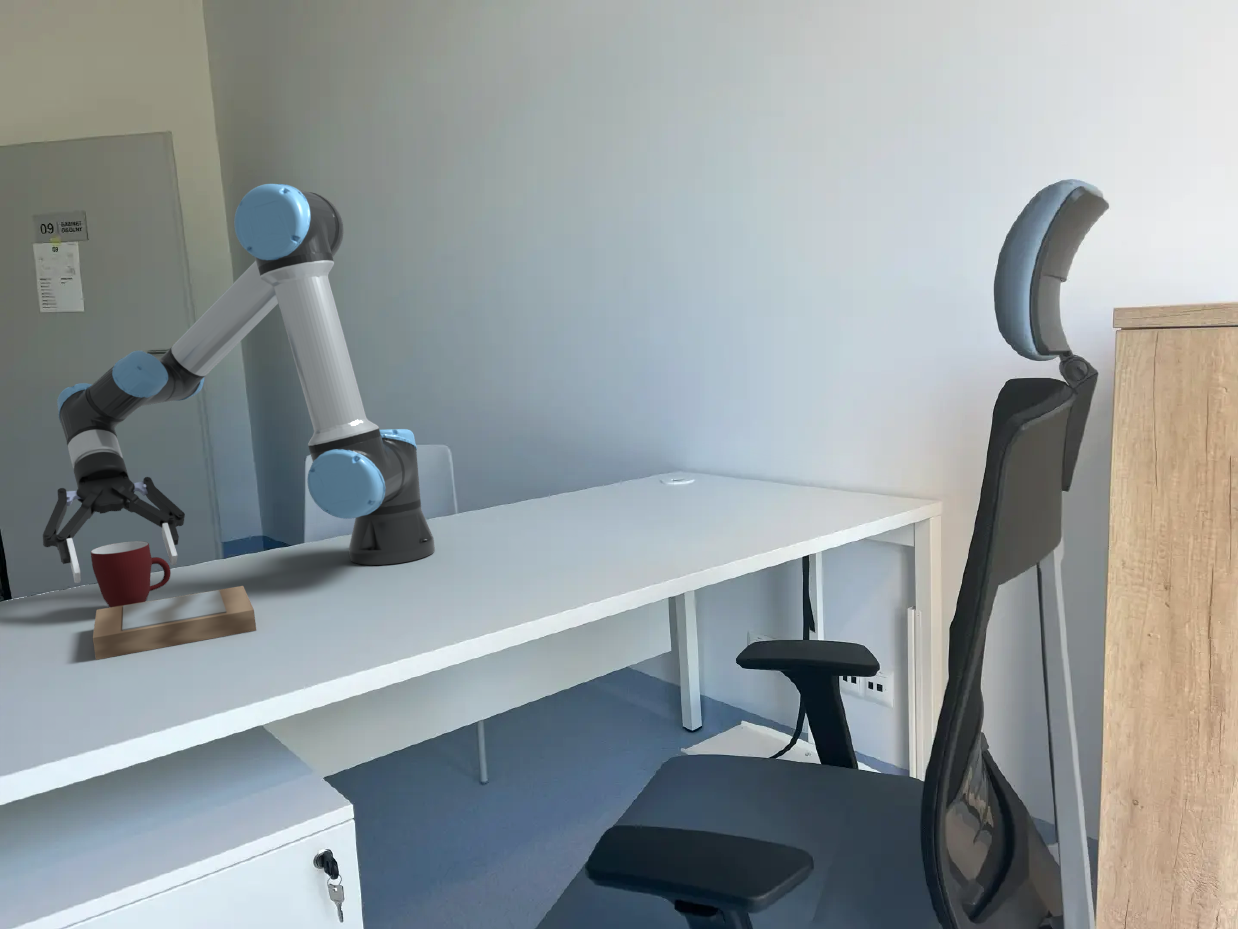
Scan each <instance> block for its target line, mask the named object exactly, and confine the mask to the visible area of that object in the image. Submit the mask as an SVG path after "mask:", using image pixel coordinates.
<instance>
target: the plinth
mask: <svg viewBox="0 0 1238 929" xmlns="http://www.w3.org/2000/svg"><path fill="white" fill-rule="evenodd" d="M255 616H256V615H255V610H254V607H253V605H252V602H251V600H250V598H249V596H248V594H247V591H246V589H245V587H244V585H241V586H234V587H227V588H221V589H215V590H209V591H202V592H198V593H197V592H196V593H193V594H192V593H190V594H186V595H184V594H183V595H178V596H173V597H172V596H171V597H166V598H160V599H154V600H148V601H147V600H146V602H141V603H135V604H129V605H123V606H117V607H105V608H99V609H96V612H95V617H94V618H95V620H94V628H93V634H92V641H93V642H92V643H93V649H94V650H93V651H94V656H95V657H94V658H95V661H97V660H103V659H107V658H108V659H109V658H112V657H113V658H114V657H118V656H123V655H130V654H136V653H141V652H145V651H146V652H147V651H152V650H156V649H157V650H159V649H162V648H167V647H168V648H169V647H174V646H178V645H183V644H190V643H195V642H201V641H205V640H211V639H216V638H222V637H223V638H224V637H226V636H227V637H228V636H233V635H238V634H242V633H243V634H245V633H249V632H250V633H251V632H254V631H255V632H256V631H257V624H256V617H255Z"/></svg>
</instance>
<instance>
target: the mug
mask: <svg viewBox="0 0 1238 929" xmlns="http://www.w3.org/2000/svg"><path fill="white" fill-rule="evenodd" d="M90 558H91V565H92V570H93V573H94V576H95V579H96V581H97V582H96V583H97V584H98V588H99V592H101V596H102V598H103V600H104V602H105V603H106V604H107V606H108V608H110V607H117V606H123V605H129V604H135V603H141V602H147V599H148V596H149V594H150V592H152V591H155V590H157V589H161V588H163V587H164V586H165V585H166V584H167V583H168V582H169V581H170V579H171V574H172V572H171V568H170V565H169V563H168V562H167V561H166V560H165V559H164V558H161V557H156V556H155V557H154V556H153V557H152V555H151V548H150V543H149V542H147V541H140V540H137V541H136V540H135V541H125V542H118V543H117V542H116V543H110V544H106V545H102V546H99V547H95V548H94V549H91V551H90ZM152 565H158V566H160V567H161V568H162V569H163V577H162V579H161V580H160V581H159V582H158V583H156V584H152V585H151V576H152V575H151V574H152Z"/></svg>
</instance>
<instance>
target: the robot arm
mask: <svg viewBox="0 0 1238 929" xmlns="http://www.w3.org/2000/svg"><path fill="white" fill-rule="evenodd" d="M233 221H234V231H235V236H236V238H237V240H238V242H239V244H240V245H241V246H242V248H243V249H244V250H245V251H246V252H247V253H248V254H250V255H251V256H252V257H254V262H253V263H252V264H251V265H250V266H249V267H248V268H247V269H246V270H245V271H244V272H243V273H242V274H241V275H240V276H239V277H238V278H236V280H235V281H234V282H233V283H232V284H231V285H230V286H229V288H227V289H226V290H225V291H224V292H223V294H222V295H220V296H219V297H218V299H217V300H216V301H214V303H212V305H211V306H210V307H208V309H207V310H206V311H205V312H204V313H203V314H202V315H201V316H200V317H199V318H198V319H197V320H196V321H195V322H194V323H193V324H192V325H191V326H190V327H189V328H188V329H187V330H186V332H184V334H182V336H180V337H179V339H177V341H176V342H174V343H173V345H172V346H171V347H170V348H169V349H168V350H167V351H166V352H164V354H163V355H162V356H161V357H160V358H159V359H158V358H157V357H156V356H155V355H152V354H151V353H148V352H145V351H144V350H134V351H131V352H130V353H128V354H127V355H125V356H124V357H122V358H120V359H119V360H117V362H115V364H114V365H113V366H112V367H111V368H110V369H109V370H107V371H106V372H105V373H104V374H103V375H102V376H101V377H99V378H98V379H97V380H96V381H95V382H93V384H92V383H86V382H82V383H75V384H74V385H73V386H68V387H66V388H64V389H63V390H62V391H61V392H60V393H59V394H58V397H57V400H56V401H57V402H56V403H57V404H56V405H57V410H58V414H57V415H58V419H59V423H60V425H61V428H62V431H63V434H64V438H65V442H66V445H67V446H66V447H67V450H68V453H69V458H70V462H71V465H72V466H71V467H72V468H73V474H74V477H75V482H76V485H77V490H68V491H67V489H66V488H64V487H60V488H58V489H57V502H56V504H55V506H54V509H52V512H51V515H50V517H49V520H48V522H47V524H46V526H45V528H44V531H43V534H42V545H43V547H45V548H50V547H56V548H57V550H58V553H59V557H60V562H61V563H62V564H63V565H64V564H70V567H71V568H70V569H71V573H72V576H73V581H74V584H79V583H81V582H82V581H81V580H82V579H81V578H82V577H81V574H82V573H81V568H80V564H79V561H78V557H77V552H76V548H75V545H74V541H73V538H74V537H75V536H76V534H77V533H78V532H79V531H80V530H81V528H82V527H83V526H84V525H85V523H86V522H87V521H88V520H89V519H91V517H93V515H94V514H95V513H99V514H106V513H109V512H120V511H122V510H123V509H125V510H126V511H128V512H130V513H135V514H136V515H139V516H141V517H142V518H144V519H146V520H147V521H149V522H151V523H152V524H154V525H156V526H158V527H160V528H161V536H162V539H163V540H162V541H163V544H164V546H165V550H166V553H167V557H168V559H169V563H170V565H171V566H176V565H177V562H178V561H177V560H178V552H177V550H176V546H177V545H179V539H180V536H179V533H178V532H179V531H178V529H177V527H182V526H184V524H185V517H186V515H185V512H184V511H183V510H181V508H180V507H178V506H177V504H175V503H174V502H173V501H172V500H171V499H170V498H169V497H167V496H166V495H165V494H164V493H163V492H161V491H160V489H158V487H157V486H155V483H154V482H153V480H152V477H150V476H146V477H144V478H143V480H142V481H138V482H132V480H130V477H129V473H128V471H127V467H126V464H125V460H124V457H123V456H124V455H123V453H122V449H121V446H120V443H119V440H118V435H117V431H116V427H117V426H119V424H121V423H122V422H123V421H124V420H126V419H127V418H128V417H130V416H131V415H132V414H133V413H135V411H137V410H138V409H140V408H141V407H144V406H150V405H156V404H161V403H168V402H176V401H177V402H178V401H180V402H181V401H184V400H187V399H189V398H191V397H194V396H196V395H197V394H199V393H200V392H201V390H202V389H203V386H204V384H205V383H204V382H205V377H206V376H207V375H208V374H210V372H211V371H212V370H213V369H214V368H215V367H216V366H217V365H218V364H219V363H221V361H222V360H223V359H224V358H225V357H226V356H227V355H229V353H230V352H231V351H232V350H233V349H234V348H235V347H236V346H237V345H238V344H239V343H240V342H241V341H242V340H243V339H244V338H245V337H246V336H247V335H248V334H250V332H251V331H252V330H253V329H254V328H255V327H256V326H258V324H259V323H260V322H261V321H262V320H263V319H264V318H265V317H266V316H267V315H268V314H269V313H270V312H271V311H272V310H273V309H274V308H275V307H276V306H277V305H278V306H279V311H280V314H281V318H282V321H283V324H284V328H285V331H286V334H287V339H288V342H289V345H290V346H289V347H290V350H291V353H292V356H293V360H294V364H295V367H296V371H297V375H298V378H299V381H300V384H301V389H302V392H303V396H304V400H305V403H306V407H307V410H308V414H309V418H310V421H311V424H312V427H313V428H312V429H313V434H312V436H311V438H310V440H309V441H308V443H307V446H308V450H309V452H310V453H309V454H310V457H311V461H312V463H311V466H310V468H309V470H308V473H307V479H306V481H307V489H308V492H309V494H310V497H311V499H312V500H313V501H314V503H315V504H316V506H317V507H318V508H320V510H322V511H323V512H325V513H327V514H328V515H331V517H334V518H339V519H343V520H344V519H345V520H348V519H354V525H353V527H352V533H351V538H350V542H349V547H348V552H349V554H348V555H349V561H350V562H352V563H355V564H357V565H358V564H359V565H365V566H366V565H367V566H372V565H373V566H376V565H377V566H378V565H379V566H380V565H394V564H400V563H407V562H412V561H416V560H420V559H423V558H426V557H428V556H430V555H432V554H434V552H435V550H436V549H435V547H436V546H435V539H434V536H433V534H432V531H431V529H430V527H429V525H428V524H429V523H428V521H427V520H426V517H425V516H424V513H423V510H422V502H421V493H420V492H421V489H420V488H421V487H420V479H419V467H418V454H417V450H418V446H417V444H416V440H415V438H416V437H415V434H414V433H413V431H412V430H410V429H407V428H399V429H398V428H395V429H394V428H393V429H391V428H387V429H380V427H379V425H377V424H376V423H374V422H372V421H371V420H369V419H368V417H367V416H366V411H365V408H364V403H363V400H362V396H361V394H360V390H359V386H358V382H357V379H356V378H357V377H356V375H355V372H354V367H353V364H352V360H351V357H350V353H349V349H348V345H347V341H346V338H345V335H344V334H345V333H344V331H343V327H342V323H341V320H340V317H339V313H338V309H337V305H336V301H335V298H334V294H333V292H332V288H331V284H330V279H329V273H330V272H331V270H332V268H333V267H334V265H335V261H334V256H335V255H336V254H337V252H338V251H339V249H340V247H341V245H342V242H343V238H344V223H343V222H344V221H343V219H342V217H341V214H340V212H339V211H338V209H337V208H336V206H335V205H334V204H333V203H332V202H331V201H330V200H329V199H327V198H326V197H324V196H322V195H321V194H317V193H315V192H311V191H307V190H303V189H298V188H297V187H294V186H293V185H289V184H286V183H285V184H282V183H278V184H277V183H265V184H261V185H258V186H256V187H254V188H252V189H251V190H248V192H246V194H245V195H243V197H242V199H241V201H240V202H239V204H238V205H237V208H236V210H235V214H234V220H233ZM135 492H139V493H140V494H141V495H142V496H146V498H147V499H148V500H149V502H151V503H152V504H153V505H152V504H150V503H148V502H146V501H144V500H143V499H141V498H140V496H139V495H137V494H135ZM75 500H77V501H78V502H80V503H81V505H80V507H79V508H78V509H77V511H76V512H75V513H74V514H73V516H72V517H71V518H70V519H69V520H68V522H67V523H66V524H65V526H63V527H62V529H60V527H61V525H62V523H63V520H64V518H65V515H66V513H67V509H68V507H70V506H71V505H73V502H74V501H75ZM59 529H60V531H59ZM58 532H59V533H58Z"/></svg>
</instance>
